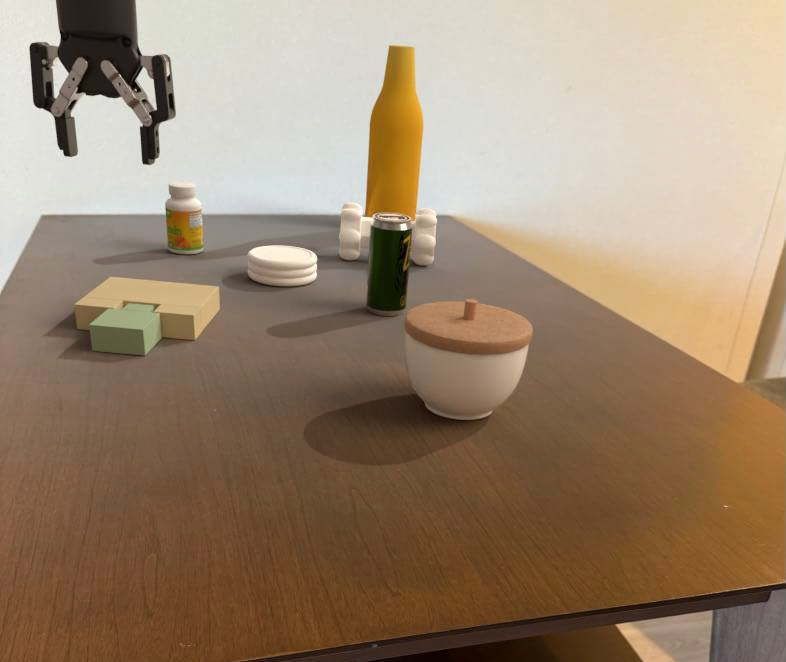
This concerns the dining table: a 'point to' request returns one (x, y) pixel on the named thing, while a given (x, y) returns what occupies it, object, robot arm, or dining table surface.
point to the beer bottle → (395, 139)
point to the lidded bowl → (465, 356)
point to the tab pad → (126, 330)
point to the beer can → (388, 263)
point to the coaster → (282, 265)
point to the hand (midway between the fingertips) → (109, 159)
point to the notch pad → (154, 304)
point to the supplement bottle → (184, 219)
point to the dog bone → (358, 233)
